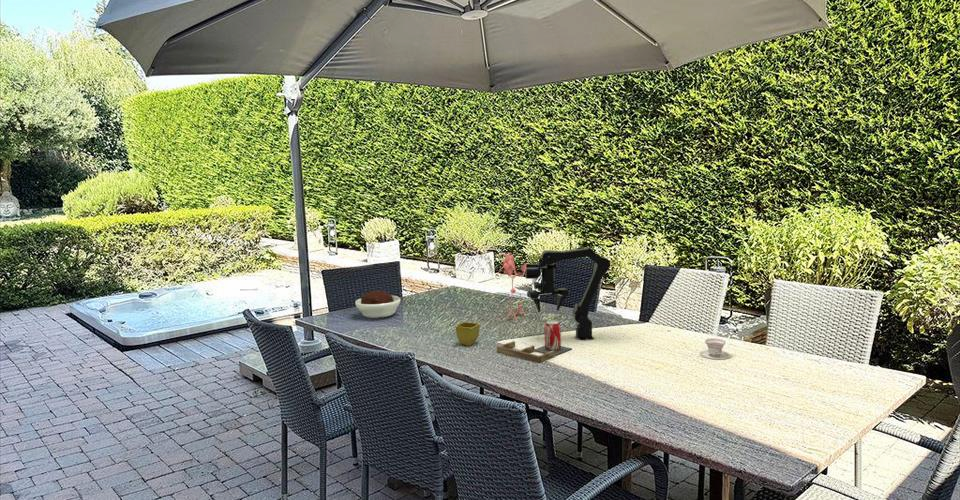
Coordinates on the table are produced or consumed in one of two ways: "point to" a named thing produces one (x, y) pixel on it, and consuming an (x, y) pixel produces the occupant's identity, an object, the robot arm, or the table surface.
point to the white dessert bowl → (377, 304)
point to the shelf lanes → (524, 352)
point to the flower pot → (467, 332)
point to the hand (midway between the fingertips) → (548, 311)
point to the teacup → (715, 349)
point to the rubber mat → (557, 352)
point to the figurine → (508, 268)
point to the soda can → (552, 335)
